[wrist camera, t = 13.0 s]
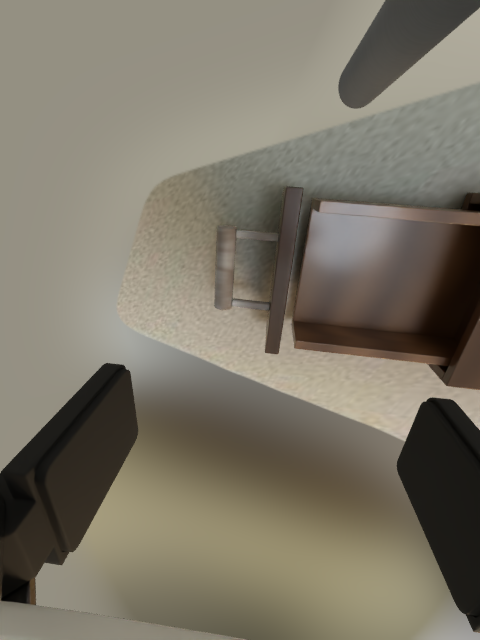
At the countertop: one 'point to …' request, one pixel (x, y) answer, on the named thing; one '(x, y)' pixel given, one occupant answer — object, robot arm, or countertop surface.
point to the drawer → (367, 278)
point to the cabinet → (465, 339)
